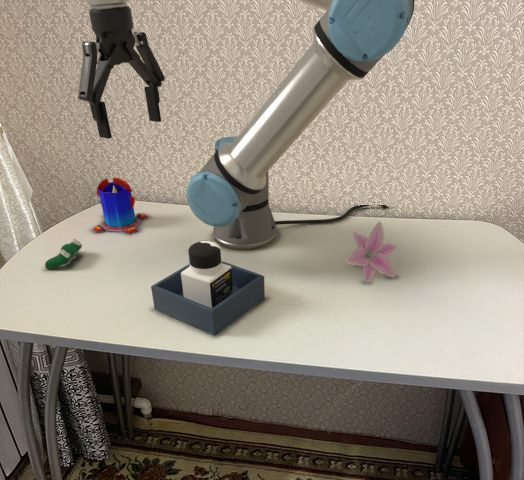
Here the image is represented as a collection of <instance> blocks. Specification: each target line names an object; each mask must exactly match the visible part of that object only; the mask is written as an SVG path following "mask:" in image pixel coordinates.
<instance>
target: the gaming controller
mask: <svg viewBox="0 0 524 480" xmlns="http://www.w3.org/2000/svg"><path fill="white" fill-rule="evenodd" d="M82 247H83V244H82V242H81V241H79V240H78V239H76V238H72V240H71V242H70V243H65V244H64V245H62V246H61V248H60V253H59V254H57V255H55V256H53V257H51V258H49V259H48V260H46V261H45V262H44V267H45V269H46V270H50V269H56V268H60V267H62V266H64V265H66V266H68V265H69V264H71V261H70V260H71V259H73V260H75V259H76V257H77V255H76V254H77V253H78V252H79V251H80V250H81V249H82Z"/></svg>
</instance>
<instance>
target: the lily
mask: <svg viewBox="0 0 524 480" xmlns="http://www.w3.org/2000/svg"><path fill="white" fill-rule="evenodd" d="M351 234H352V237H353V240H354V243H355V245H356V247H357V248H356V249H354V250H353V251H352V252H351V253H350V254H349V255H348V256H347V257H346V258H345V259H344V262H345V263H346V264H349V265H353V266H358V267H362V272H363V279H364V283H365V284H367V283H369V281H370V280H371V279H372V277H373V276H374V274H375V272H376V271H377V272H379V273H380V274H383V275H385V276H387V277H390V278H393V279H394V278H395V277H396V273H395V269H394V267H393V264H392V262H391V260H390V258H389V256H391V255H392V254H393V253H394V252H395V251H396V250H397V248H398V246H397V245H395V244H391V243H388V242H387V243H386V242H385V231H384V228H383V223H382V222H381V221H380V220H379V221H377V222H376V223H375V225H374V227H373V228H372V230H371V231H370V232H369V234H368V235H367V236H365V235H363V234H362V233H360V232H357V231H351Z"/></svg>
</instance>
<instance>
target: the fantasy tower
mask: <svg viewBox="0 0 524 480" xmlns="http://www.w3.org/2000/svg"><path fill="white" fill-rule="evenodd" d="M132 192H133V189H132V187H131V185H130V184H129V183H128V182H127V181H126V180H124V179H122V178H120V177H112V182H109V179H108V178H104V179H102V180H101V182H100V183H99V184H98V185H97V189H96V195H97V196H98V197H99V199H100V201H99V203H100V205H101V208H102V209H101V210H102V214H103V219H104V221H103V222H102V223H101V225H100V224H97V225H96V226H95V227H94V228H93V229H92V231H93V232H95V234H98V233H99V234H100V233H104V232H105V233H106V232H114V233H125V234H127V235H132V234H135V233H138V232H139V231H138V229H137V227H138V226H139V225H140V223H141V222H142V221H145V220H147V219H148V218H149V217H148V216H147V215H146V214H145V213H143V212H139V213H138V212H137V213H136V214H135V203H136V197H135V196H132V195H133V194H132Z"/></svg>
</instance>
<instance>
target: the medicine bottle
mask: <svg viewBox="0 0 524 480" xmlns="http://www.w3.org/2000/svg"><path fill="white" fill-rule="evenodd" d="M187 254H188V263H189V264H190V267H188V268H187V269H185V270H184V271H182V272H181V279H182V287H183V295H184V297H185V298H187V299H190V300H192V301H195V302H197V303H200V304H202V305H205V306H207V307H209V308H213V307H215V306H216V305H218V304H219V303H220V302H222V301H223V300H225V299H226V298H228V297H229V296H231V295H232V294H233V283H232V268H231V266H229V265H226V264H222V261H223V260H222V249H221V245H220V244H218V243H217V242H215V241H210V240H209V241H208V240H202V241H197V242H194V243H193V244H190V246H189V248H188V249H187Z"/></svg>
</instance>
